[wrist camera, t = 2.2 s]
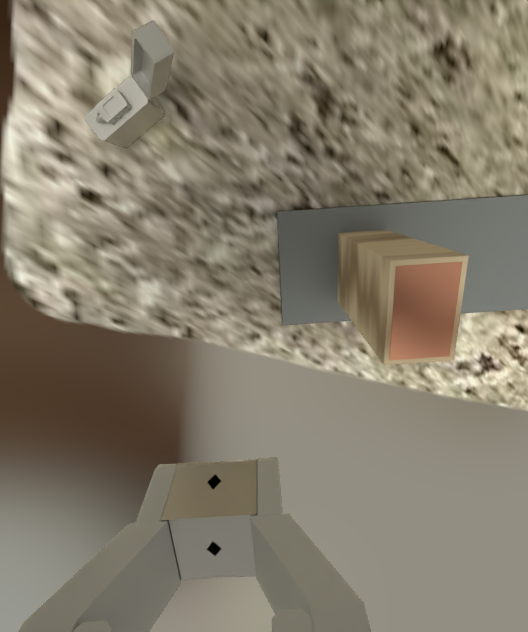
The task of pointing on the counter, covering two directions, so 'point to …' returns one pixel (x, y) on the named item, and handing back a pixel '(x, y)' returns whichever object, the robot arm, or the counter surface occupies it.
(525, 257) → the slate mat
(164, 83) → the lighter
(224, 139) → the counter surface
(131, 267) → the counter surface
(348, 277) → the beech block
